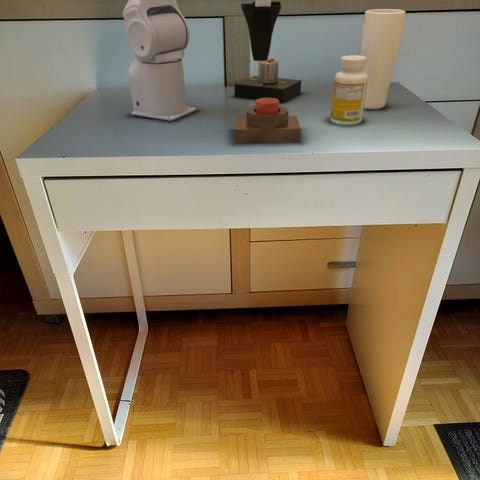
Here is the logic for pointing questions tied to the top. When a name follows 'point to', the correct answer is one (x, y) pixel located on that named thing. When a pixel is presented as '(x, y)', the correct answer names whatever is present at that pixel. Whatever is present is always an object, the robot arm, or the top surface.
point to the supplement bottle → (349, 91)
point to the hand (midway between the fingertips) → (260, 60)
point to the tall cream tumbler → (380, 52)
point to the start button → (267, 105)
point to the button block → (267, 127)
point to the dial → (268, 71)
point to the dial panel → (268, 89)
